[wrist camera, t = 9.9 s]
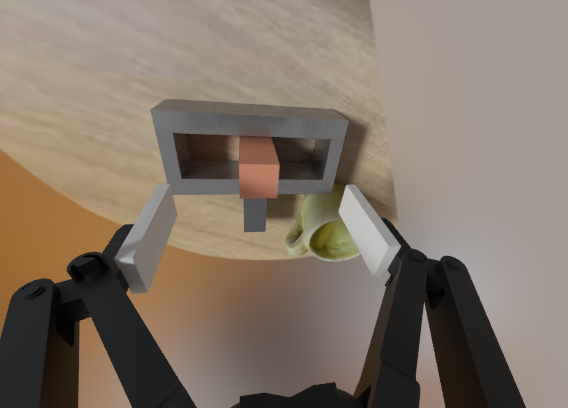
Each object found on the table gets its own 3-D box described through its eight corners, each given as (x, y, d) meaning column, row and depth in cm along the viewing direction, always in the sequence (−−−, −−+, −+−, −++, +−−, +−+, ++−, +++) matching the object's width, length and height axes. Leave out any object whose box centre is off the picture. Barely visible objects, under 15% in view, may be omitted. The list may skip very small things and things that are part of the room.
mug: (367, 166, 31) (386, 232, 25) (358, 207, 39) (371, 264, 33) (278, 175, 32) (277, 239, 26) (288, 213, 40) (289, 268, 35)
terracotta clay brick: (240, 155, 29) (239, 198, 21) (240, 128, 27) (238, 163, 19) (267, 156, 30) (276, 198, 22) (269, 129, 28) (279, 164, 20)
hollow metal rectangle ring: (165, 99, 24) (150, 109, 20) (333, 109, 27) (349, 120, 23) (188, 213, 33) (180, 237, 29) (312, 211, 36) (321, 232, 32)
